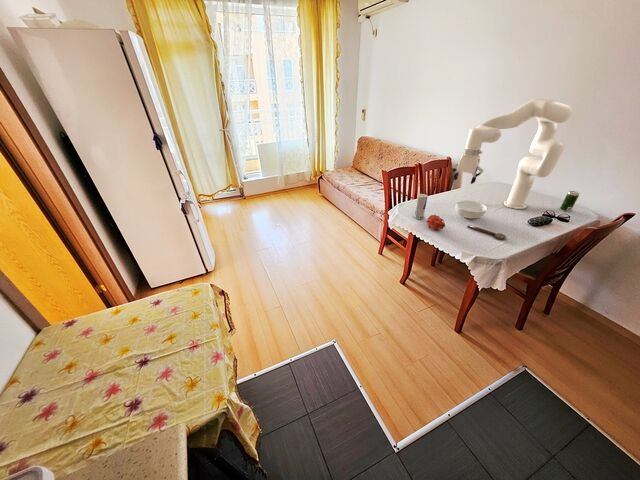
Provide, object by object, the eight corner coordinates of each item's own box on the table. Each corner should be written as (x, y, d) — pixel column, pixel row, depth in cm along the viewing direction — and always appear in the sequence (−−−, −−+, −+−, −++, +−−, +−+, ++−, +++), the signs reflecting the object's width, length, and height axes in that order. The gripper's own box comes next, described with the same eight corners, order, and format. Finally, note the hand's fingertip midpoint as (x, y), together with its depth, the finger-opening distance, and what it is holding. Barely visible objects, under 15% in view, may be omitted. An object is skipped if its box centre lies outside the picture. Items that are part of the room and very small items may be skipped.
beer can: (572, 211, 157) (582, 193, 150) (564, 212, 157) (573, 194, 150) (565, 208, 161) (574, 190, 155) (557, 208, 161) (566, 191, 155)
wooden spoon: (465, 228, 146) (466, 225, 145) (469, 225, 149) (470, 222, 148) (503, 241, 133) (504, 238, 133) (506, 237, 136) (507, 234, 135)
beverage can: (424, 219, 158) (428, 197, 150) (414, 219, 159) (418, 196, 151) (422, 215, 163) (426, 193, 155) (413, 215, 164) (417, 193, 156)
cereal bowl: (449, 216, 159) (452, 206, 155) (458, 208, 169) (461, 198, 165) (479, 224, 149) (482, 214, 145) (486, 214, 159) (490, 204, 155)
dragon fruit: (425, 225, 155) (441, 236, 147) (420, 221, 149) (436, 232, 141) (435, 214, 152) (451, 224, 144) (429, 209, 146) (446, 220, 138)
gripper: (491, 153, 138) (481, 183, 147) (458, 148, 149) (451, 177, 158) (486, 155, 134) (476, 186, 143) (453, 151, 145) (446, 179, 154)
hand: (463, 181), depth 151 cm, fingers open, 9 cm apart
